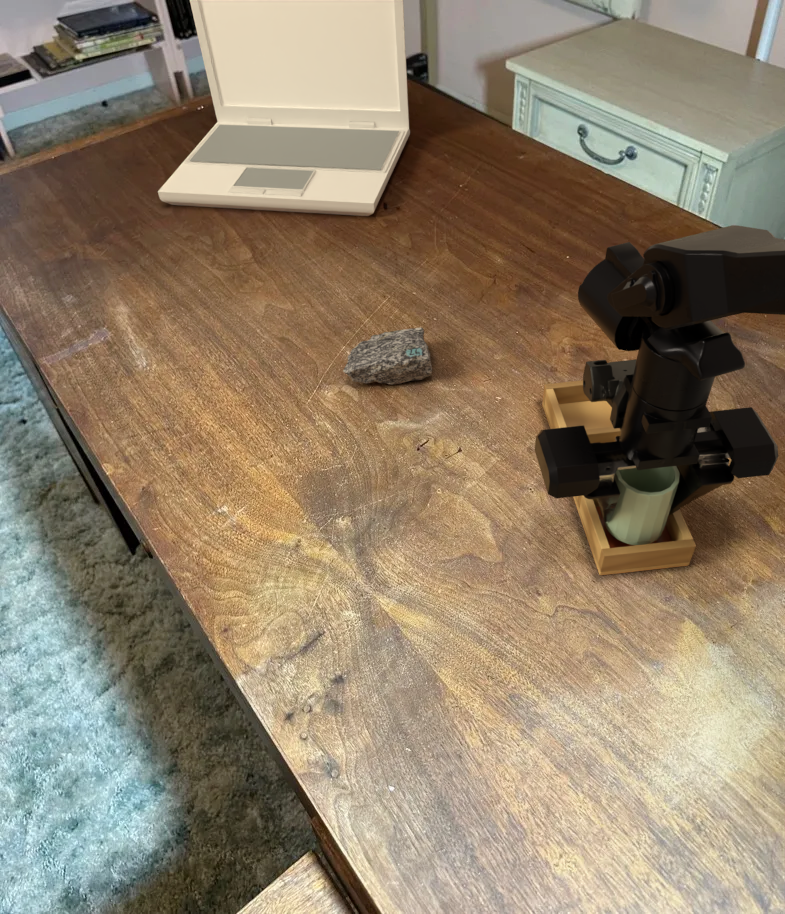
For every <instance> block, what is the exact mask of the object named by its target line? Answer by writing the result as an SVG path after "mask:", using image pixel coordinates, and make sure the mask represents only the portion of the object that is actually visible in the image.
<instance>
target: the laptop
mask: <svg viewBox="0 0 785 914" xmlns="http://www.w3.org/2000/svg"><path fill="white" fill-rule="evenodd" d="M189 3H190V8H191V12H192V17H193V21H194V25H195V30H196V35H197V39H198V42H199V48H200V51H201V56H202V61H203V65H204V70H205V74H206V78H207V82H208V83H207V84H208V87H209V91H210V96H211V100H212V104H213V109H214V113H215V117H216V122H215V124H214V125H213V127H212V128H210V130H209V131H208V132H207V133H206V135H204V136H203V138H202V140H200V141H199V143H198V144H197V145H196V147H194V148H193V150H192V151H191V152H190V153H189V154H188V155H187V157H186V158H185V159H184V160H183V161H182V162H181V164H180V165H179V166H178V167H177V168H176V169H175V171H174V172H173V173H172V174H171V176H169V178H168V179H167V180H166V181H165V182H164V184H163V185H162V186H161V187H160V188H159V189H158V191H157V193H158V198H159V200H160V201H161V202H162V203H166V204H169V205H172V206H185V207H201V208H202V207H203V208H221V209H237V210H255V211H275V212H288V213H307V214H323V215H324V214H325V215H341V216H360V217H369V216H371V215H373V214H374V213H375V211H376V209H377V206H378V204H379V202H380V199H381V197H382V196H383V193H384V191H385V190H386V187H387V185H388V182H389V180H390V178H391V176H392V174H393V172H394V169H395V167H396V166H397V163H398V161H399V159H400V157H401V154H402V152H403V150H404V148H405V146H406V144H407V141H408V139H409V137H410V135H411V129H410V114H409V96H408V93H409V92H408V74H407V73H408V72H407V53H406V52H407V51H406V32H405V31H406V29H405V11H404V10H405V8H404V7H405V6H404V0H189Z"/></svg>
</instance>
